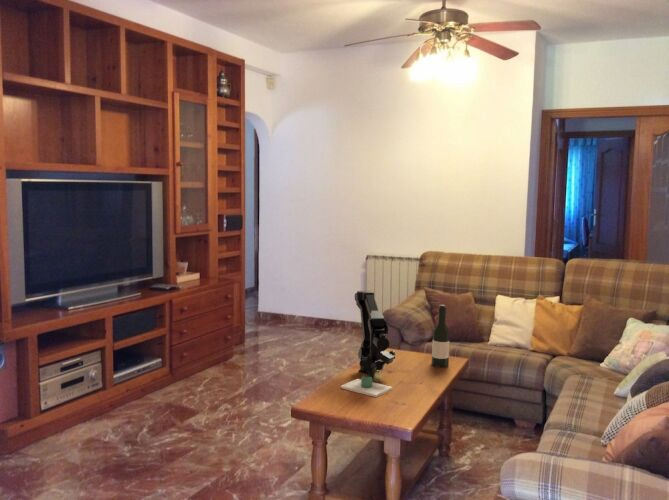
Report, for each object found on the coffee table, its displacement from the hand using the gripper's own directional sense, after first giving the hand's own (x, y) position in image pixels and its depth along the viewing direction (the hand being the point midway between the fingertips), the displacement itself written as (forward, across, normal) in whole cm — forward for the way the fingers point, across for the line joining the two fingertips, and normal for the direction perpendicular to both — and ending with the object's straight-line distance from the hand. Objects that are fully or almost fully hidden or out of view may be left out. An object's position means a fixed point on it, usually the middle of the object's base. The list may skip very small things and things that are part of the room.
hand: (375, 378), depth 279 cm
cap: (+1, 0, 0) cm, 1 cm away
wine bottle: (+1, +41, -12) cm, 43 cm away
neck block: (+1, -12, -3) cm, 12 cm away
